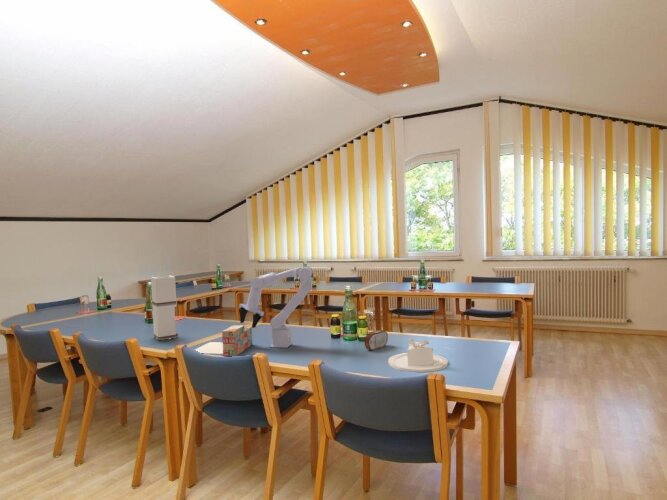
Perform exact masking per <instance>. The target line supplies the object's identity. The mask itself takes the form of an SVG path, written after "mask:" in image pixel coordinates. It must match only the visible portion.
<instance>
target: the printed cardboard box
mask: <svg viewBox="0 0 667 500" xmlns="http://www.w3.org/2000/svg"><path fill="white" fill-rule="evenodd" d="M252 329H253V328H252V326H251V327H250V326H249V327H248V326H247V327H246V326H245V325H243V324H241V325H236V324H235V325H234V324H232V325H231V326H229V327H228V328H226V329H224V330H222V331H221V332H222V338H221V339H222V342H223V354H222V355H223V357H236V356H238V355H239V354H241V353H242V352H244V351H245V350H246V349H248V348H249V347H251V346H253V332H252V331H253V330H252ZM235 355H236V356H235Z"/></svg>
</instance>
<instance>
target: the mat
mask: <svg viewBox="0 0 667 500" xmlns="http://www.w3.org/2000/svg"><path fill="white" fill-rule="evenodd" d="M194 350H196V351H198V352H200V353H204V355H223V341H222V342H220V341H217V342H215V341H214V342H213V341H209V342H207V343H205V344H203V345H200V346H199V347H197V348H196V349H194Z"/></svg>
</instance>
